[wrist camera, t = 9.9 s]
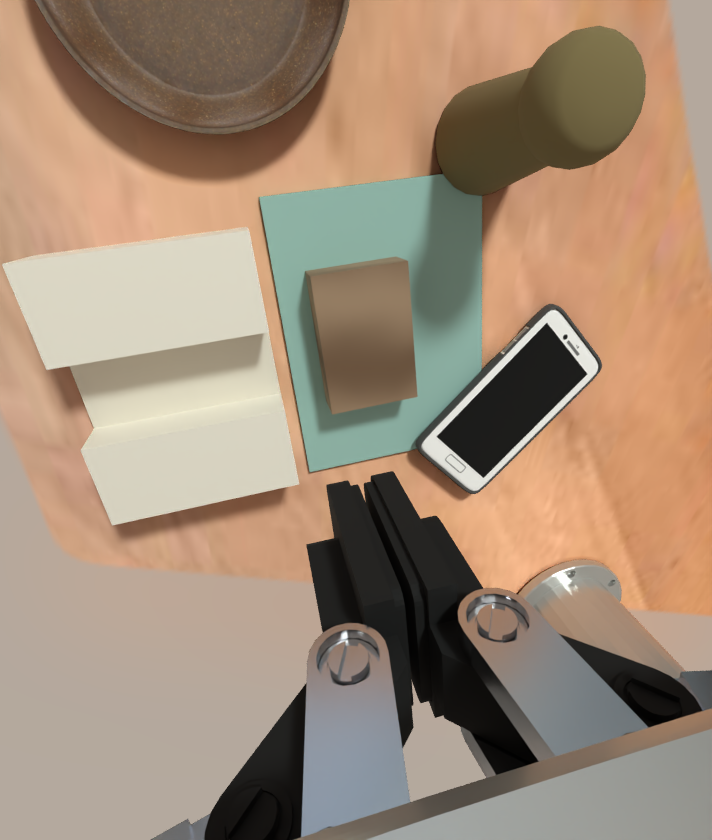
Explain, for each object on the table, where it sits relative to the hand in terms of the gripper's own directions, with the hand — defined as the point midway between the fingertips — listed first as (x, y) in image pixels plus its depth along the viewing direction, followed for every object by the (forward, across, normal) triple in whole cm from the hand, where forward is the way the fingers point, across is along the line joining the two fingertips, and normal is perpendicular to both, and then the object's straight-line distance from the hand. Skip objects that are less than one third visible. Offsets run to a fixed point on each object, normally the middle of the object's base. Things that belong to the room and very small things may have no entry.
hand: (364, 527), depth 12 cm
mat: (+22, -7, +1) cm, 23 cm away
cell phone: (+22, -16, +8) cm, 29 cm away
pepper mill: (+22, -14, -10) cm, 28 cm away
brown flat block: (+20, -5, +1) cm, 20 cm away
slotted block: (+22, +7, +2) cm, 23 cm away
